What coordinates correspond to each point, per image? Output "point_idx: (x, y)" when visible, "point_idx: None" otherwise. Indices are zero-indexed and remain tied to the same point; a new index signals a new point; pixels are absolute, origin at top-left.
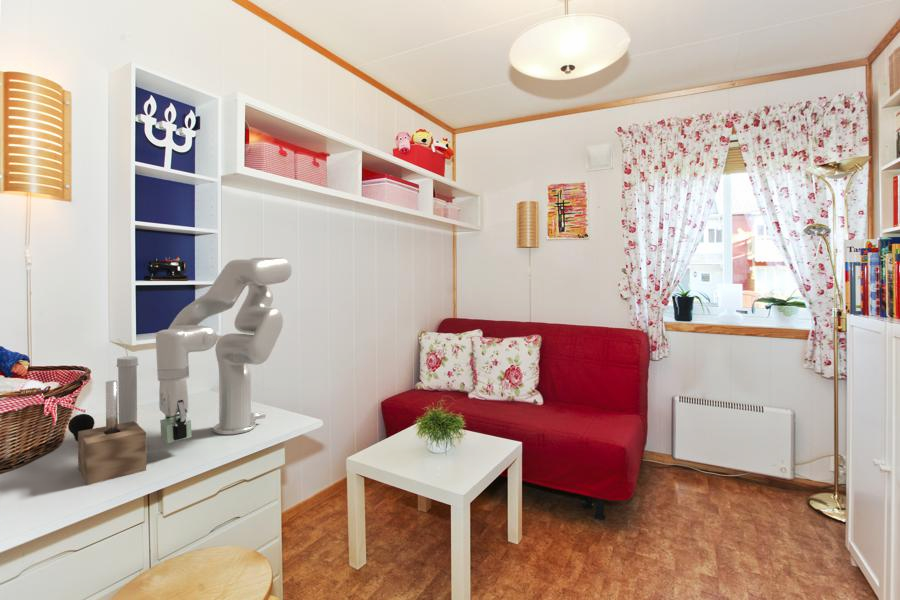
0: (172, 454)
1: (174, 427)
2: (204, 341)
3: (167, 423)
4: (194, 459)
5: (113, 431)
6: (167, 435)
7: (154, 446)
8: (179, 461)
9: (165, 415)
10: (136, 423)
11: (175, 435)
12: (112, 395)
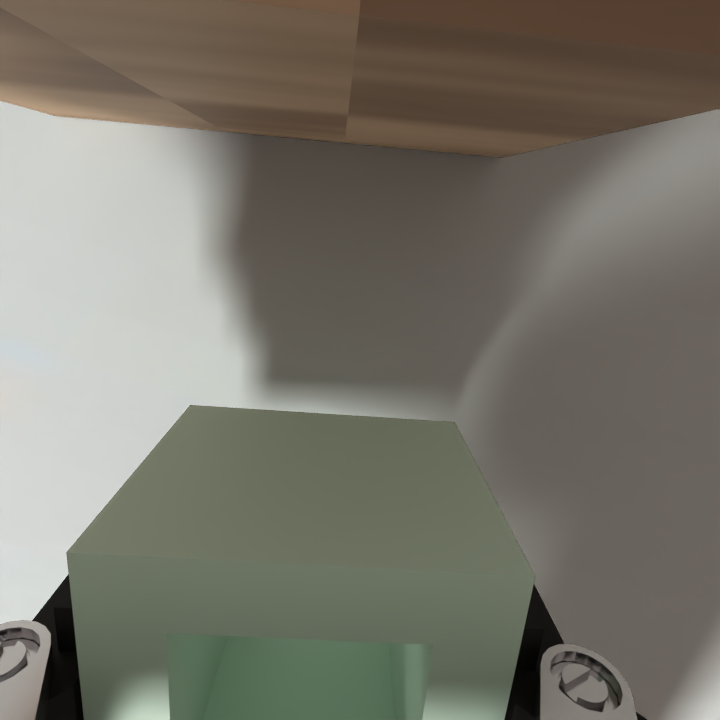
0: (307, 405)
1: (65, 606)
2: None
3: (191, 597)
4: (66, 478)
5: None
6: (151, 451)
7: (622, 371)
8: (97, 389)
9: (624, 717)
10: (584, 40)
11: None
12: None
